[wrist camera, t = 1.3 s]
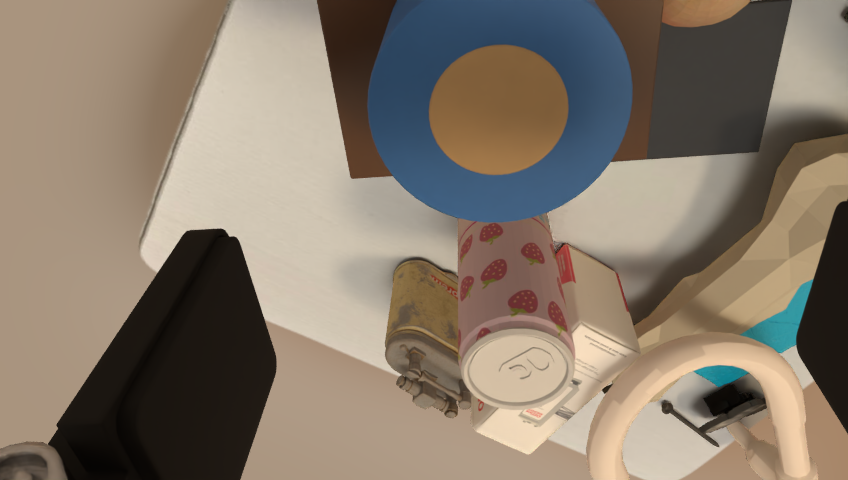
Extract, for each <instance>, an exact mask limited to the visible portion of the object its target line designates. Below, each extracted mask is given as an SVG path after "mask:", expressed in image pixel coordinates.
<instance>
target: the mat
mask: <svg viewBox="0 0 848 480" xmlns="http://www.w3.org/2000/svg"><path fill="white" fill-rule="evenodd" d="M791 3H792V0H765V1H754V2H749V3H748V4H747V5H746V6H745V7H743V8H742V9H741V10H740V11H738V12H737V13H736V14H735V15H733V16H732V17H731V18H728V19H726V20H723V21H721V22H718V23H715V24H712V25H705V26H698V27H677V26H671V25H668V24H666V23H663V22H662V23H661V32H660V41H659V50H658V59H657V68H656V77H655V86H654V95H653V104H652V113H651V122H650V131H649V140H648V149H647V157H646V159H659V158H674V157H689V156H704V155H719V154H734V153H749V152H758V151H759V147H760V142H761V138H762V133H763V129H764V125H765V120H766V116H767V111H768V107H769V102H770V98H771V93H772V89H773V84H774V80H775V75H776V71H777V66H778V62H779V57H780V53H781V48H782V44H783V39H784V35H785V30H786V26H787V21H788V17H789V12H790V8H791ZM638 160H645V159H638ZM623 161H630V160H623ZM611 162H615V161H611Z"/></svg>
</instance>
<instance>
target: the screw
mask: <svg viewBox="0 0 848 480" xmlns="http://www.w3.org/2000/svg"><path fill="white" fill-rule="evenodd" d="M662 412H663V413H665V414H669V413H671V414H672V415H674V416H675V417H677V418H678V419H679V420H680V421H682V422H683V423H685V424H686V425H687V426H689V427H690V428H691V429H693V430H694V431H695V432H697V433H698V434H699V435H701V436H702V437H703V438H705V439H706V440H707V441H709V442H710V443H711V444H713V445H715V446H716V447H719V445H718V444H717V443H716V442H715V441H714V440H712V439H711V438H710V437H708V436H707V435H706V434H704V433H701V432H700V430H699V429H698V428H696V427H695V426H694V425H692V424H691V423H690V422H688V421H687V420H686V419H684V418H683V417H682V416H680V415H679V414H678V413H676V412H675V411H674V410H673V405H672V404H671V403H663V405H662Z"/></svg>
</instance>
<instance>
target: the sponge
mask: <svg viewBox="0 0 848 480" xmlns="http://www.w3.org/2000/svg"><path fill="white" fill-rule="evenodd" d="M812 282H813V280H810V281H808V282H805V283H803V284H802V285H801V286H800V287H799V288H798V290H797V292H796V293H795V295H794V296H793V298H792V300H791V301H790V303H789V304H788V306H787V308H786V309H785V310H783V311H781V312H779V313H777V314H775V315H773V316H771V317H769V318H767V319H766V320H764V321H762V322H760V323H758V324H756V325H755V326H753V327H752V328H750V329H748V330H747V331H745V332H743V333H742V334H740V335H741V336H744V337H748V338H751V339H754V340H756V341H759V342H761V343H763V344H765V345H767V346H769V347H771V348H773V349H774V350H775V351H777V352H778V353H782V352H784V351H786V350H787V349H789V348H791V347H793V346H794V345H796V335H797V331H798V328H799V324H800V321H801V318H802V315H803V311H804V308H805V305H806V302H807V298H808V295H809V292H810V289H811V285H812ZM694 372H695V373H697V374H699V375H700V376H702V377H704V378H706V379H708V380H709V381H711V382H712V383H714V384H715V385H716V386H718V387H721V386H723V385H725V384H728V383H731V382H733V381H735V380H737V379H739V378H740V377H742V376H744V375H746V374H748V373H749V372H747V371H746V370H744V369H742V368H738V367H734V366H726V365H715V366H707V367H703V368H700V369H697V370H695V371H694Z"/></svg>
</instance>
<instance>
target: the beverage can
mask: <svg viewBox="0 0 848 480" xmlns="http://www.w3.org/2000/svg"><path fill="white" fill-rule="evenodd" d="M575 358H576V357H575V347H574V342H573V337H572V332H571V327H570V322H569V318H568V313H567V308H566V303H565V298H564V294H563V289H562V284H561V279H560V274H559V269H558V265H557V260H556V255H555V250H554V245H553V240H552V236H551V231H550V226H549V221H548V216H547V213H544V214H541V215H538V216H535V217H532V218H527V219H523V220H519V221H511V222H502V223H486V222H477V221H469V220H465V219H460V218H458V362H459V366H460V370H461V375H462V379H463V381H464V383H465V385H466V387H467V388H468V389H469V390H470V391H471V392H472V394H473V395H474V396H475V397H477V398H478V399H480V400H481V401H482V402H484V403H486V404H489V405H491V406H494V407H497V408H501V409H508V410H525V409H532V408H536V407H539V406H542V405H545V404H547V403H549V402H551V401H553V400H555V399H556V398H557V397H559V396H560V395H561V394H562V393H563V392H564V391H565V390H566V389H567V387H568V386H569V384H570V382H571V381H572V379H573V376H574V372H575Z"/></svg>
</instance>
